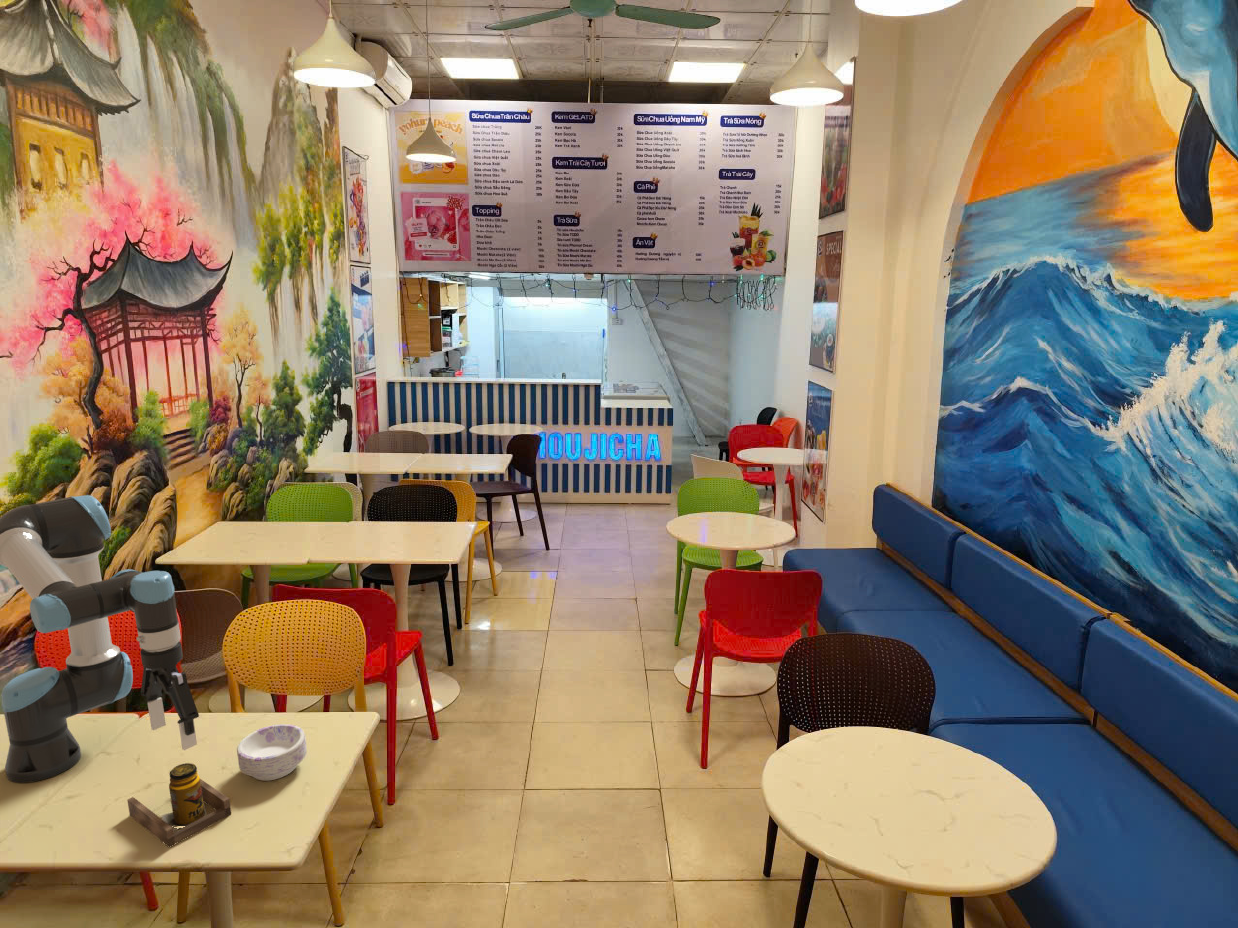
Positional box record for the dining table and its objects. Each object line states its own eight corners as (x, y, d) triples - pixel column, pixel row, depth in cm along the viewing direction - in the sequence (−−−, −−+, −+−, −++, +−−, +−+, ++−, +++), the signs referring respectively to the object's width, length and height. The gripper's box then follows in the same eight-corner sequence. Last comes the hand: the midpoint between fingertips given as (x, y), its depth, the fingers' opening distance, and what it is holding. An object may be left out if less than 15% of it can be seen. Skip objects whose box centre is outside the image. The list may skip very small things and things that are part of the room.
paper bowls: (235, 793, 189) (231, 762, 187) (245, 757, 203) (242, 728, 201) (305, 782, 193) (302, 752, 191) (310, 747, 207) (308, 719, 205)
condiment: (208, 820, 179) (202, 771, 177) (164, 834, 175) (157, 784, 172) (204, 803, 185) (197, 755, 183) (161, 816, 181) (154, 768, 178)
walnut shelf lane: (129, 815, 181) (127, 799, 180) (190, 785, 192) (188, 770, 191) (169, 847, 171) (166, 830, 170) (231, 814, 181) (229, 798, 180)
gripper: (114, 636, 175) (128, 726, 180) (171, 667, 161) (185, 764, 165) (151, 625, 181) (163, 712, 186) (208, 653, 167) (221, 747, 171)
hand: (173, 736), depth 176 cm, fingers open, 13 cm apart
